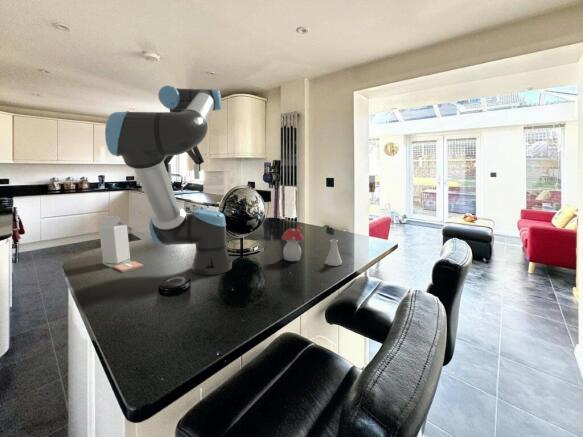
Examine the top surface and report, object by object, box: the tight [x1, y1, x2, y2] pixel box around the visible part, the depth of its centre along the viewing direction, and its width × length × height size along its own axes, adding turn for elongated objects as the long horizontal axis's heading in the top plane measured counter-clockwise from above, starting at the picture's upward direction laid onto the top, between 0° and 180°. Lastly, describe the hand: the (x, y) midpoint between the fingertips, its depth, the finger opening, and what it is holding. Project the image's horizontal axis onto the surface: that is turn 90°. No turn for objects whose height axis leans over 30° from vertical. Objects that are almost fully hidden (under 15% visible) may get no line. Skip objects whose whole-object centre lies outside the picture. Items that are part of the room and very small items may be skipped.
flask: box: [324, 239, 343, 267], centre depth 123 cm, size 7×7×10 cm
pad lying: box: [113, 260, 144, 273], centre depth 120 cm, size 8×8×1 cm
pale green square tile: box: [102, 259, 132, 268], centre depth 125 cm, size 8×8×1 cm
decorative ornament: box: [281, 225, 304, 262], centre depth 128 cm, size 9×7×15 cm
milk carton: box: [98, 215, 131, 264], centre depth 124 cm, size 7×7×19 cm
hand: (183, 179), depth 128 cm, fingers open, 13 cm apart
